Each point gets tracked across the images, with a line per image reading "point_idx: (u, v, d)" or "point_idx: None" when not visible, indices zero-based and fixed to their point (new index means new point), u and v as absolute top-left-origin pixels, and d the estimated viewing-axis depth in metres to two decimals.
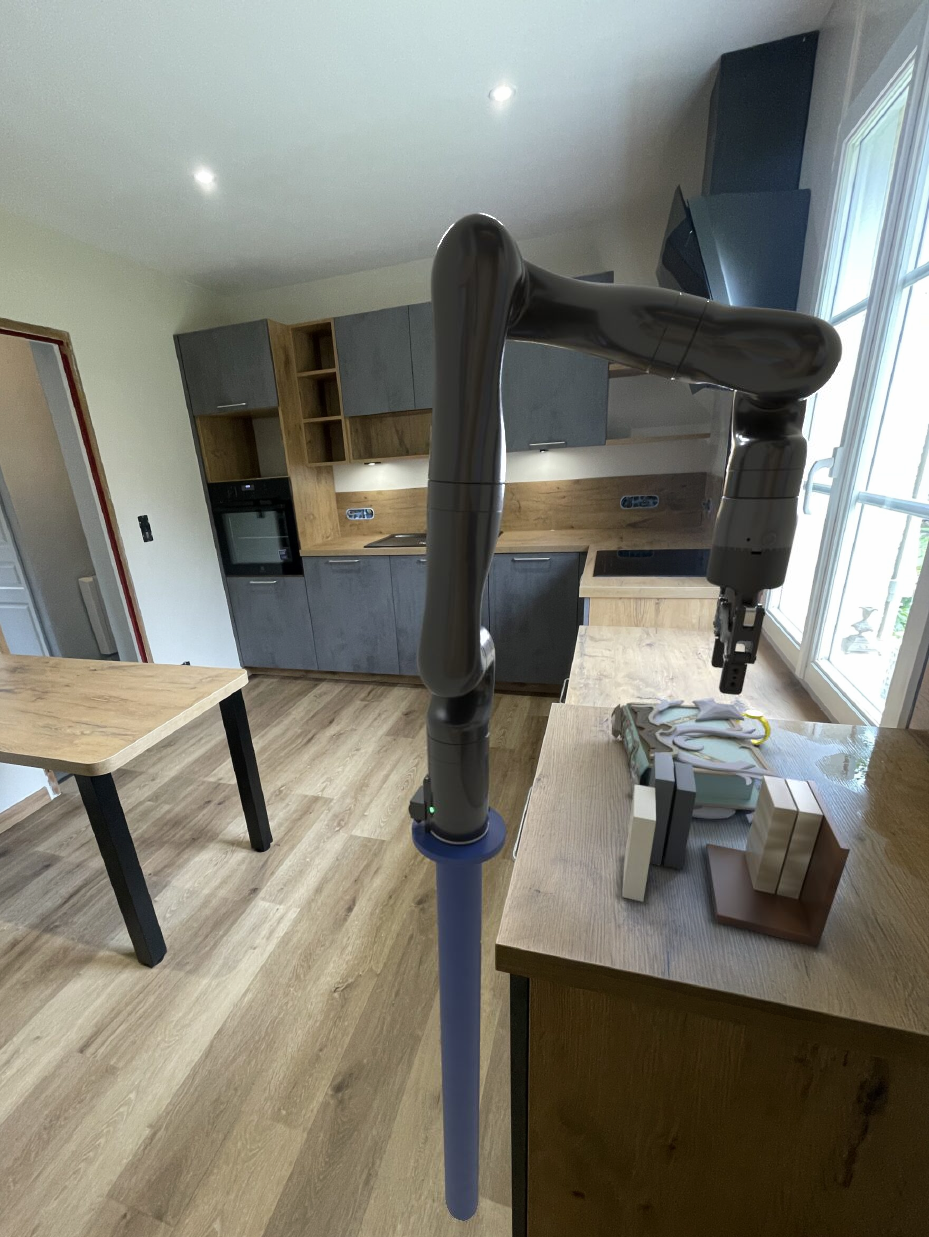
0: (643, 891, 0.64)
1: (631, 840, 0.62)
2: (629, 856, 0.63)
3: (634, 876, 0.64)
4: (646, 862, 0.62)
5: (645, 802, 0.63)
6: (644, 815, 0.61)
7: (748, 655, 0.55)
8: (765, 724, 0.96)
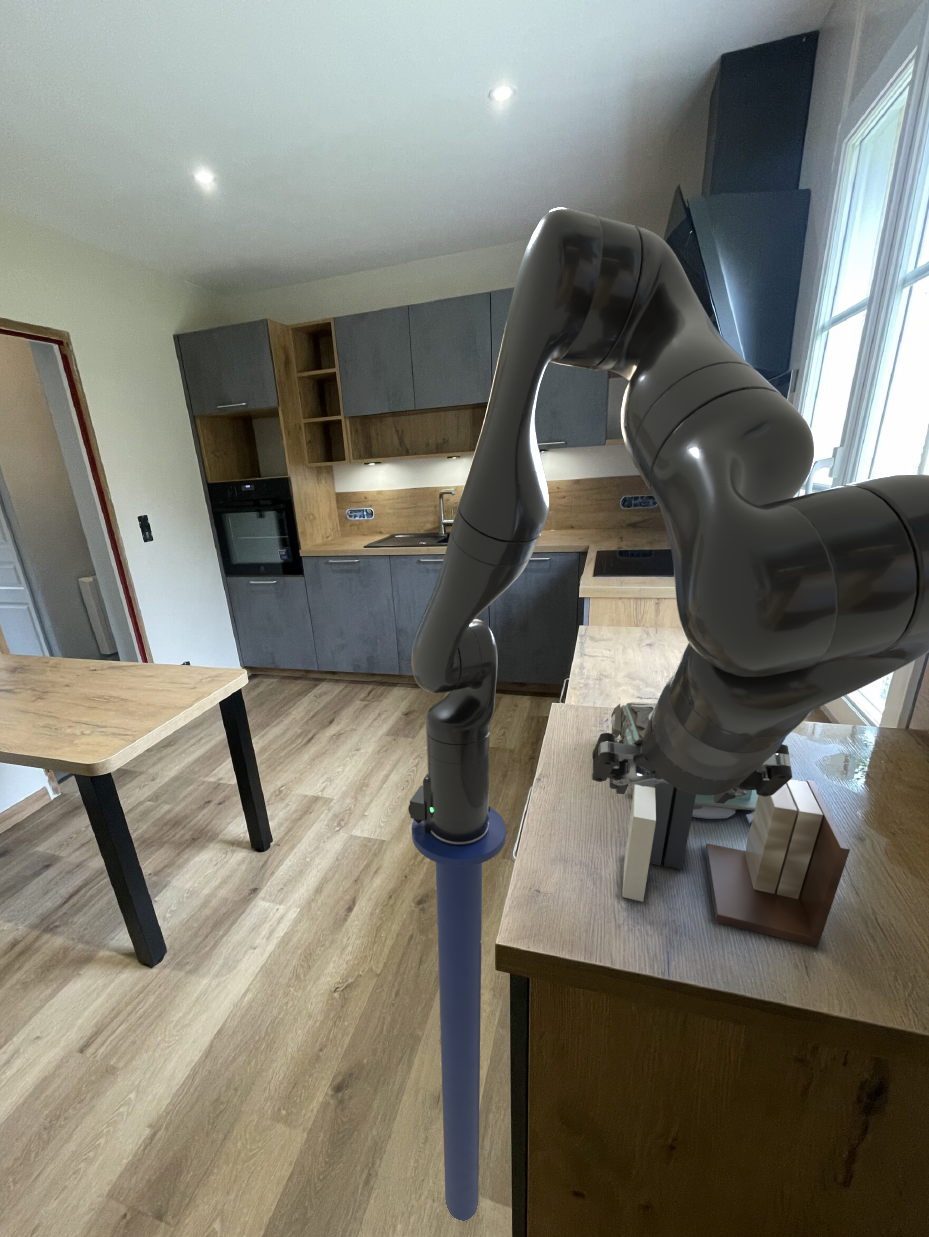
0: (643, 891, 0.64)
1: (631, 840, 0.62)
2: (629, 856, 0.63)
3: (634, 876, 0.64)
4: (646, 862, 0.62)
5: (645, 802, 0.63)
6: (644, 815, 0.61)
7: None
8: None
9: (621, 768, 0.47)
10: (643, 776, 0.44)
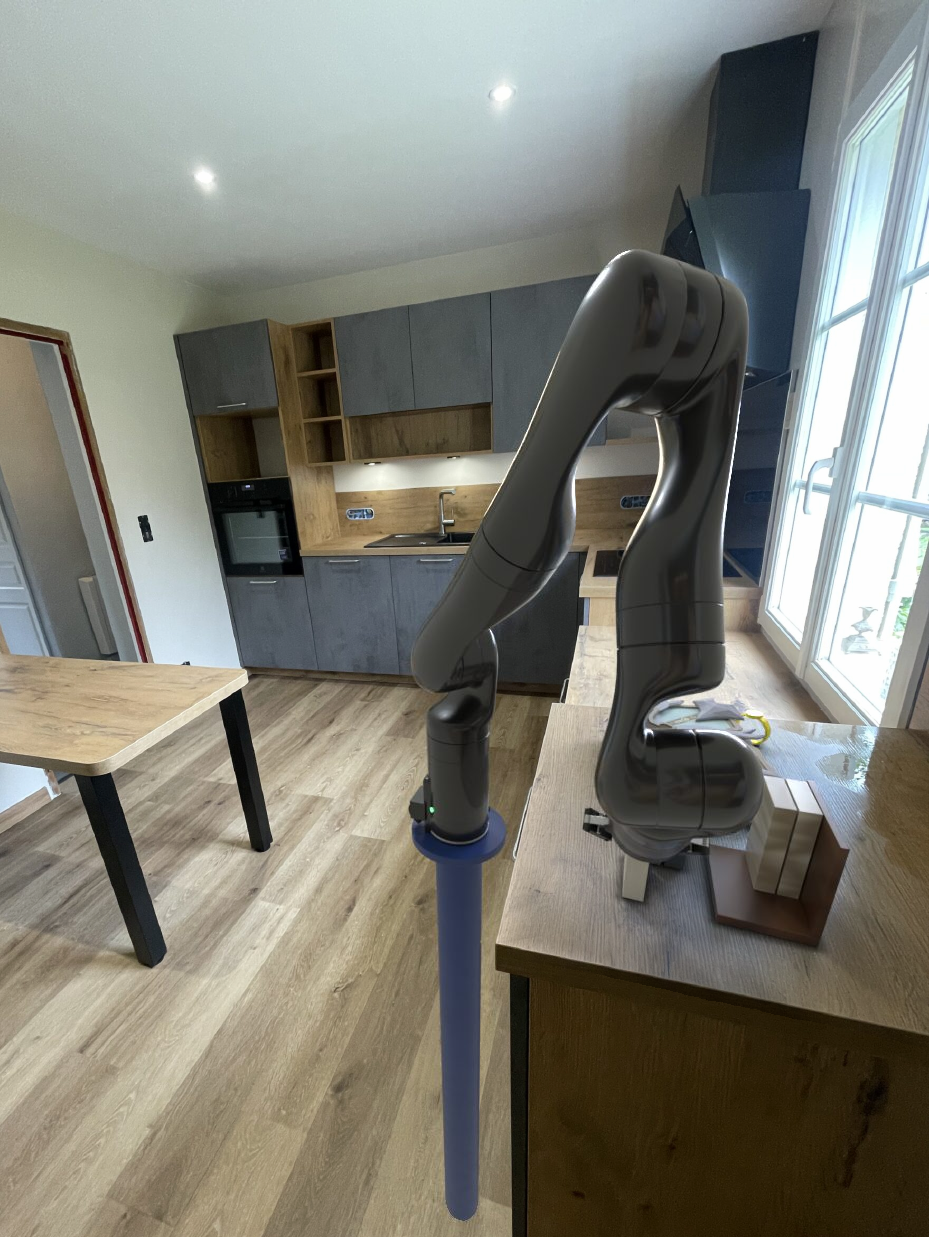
0: (643, 891, 0.64)
1: None
2: (629, 856, 0.63)
3: (634, 876, 0.64)
4: (646, 862, 0.62)
5: None
6: None
7: None
8: (765, 724, 0.96)
9: None
10: None
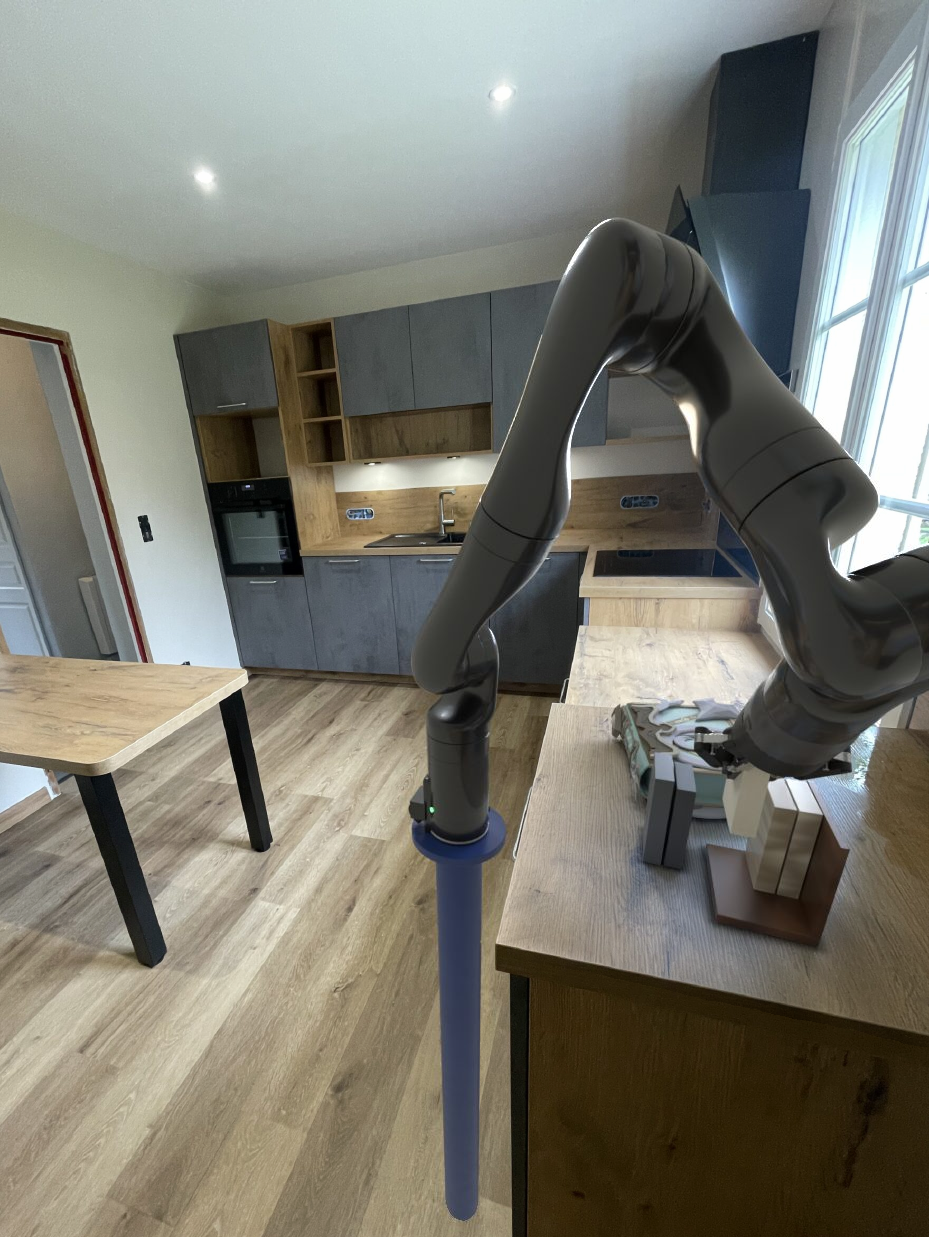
0: (756, 825, 0.56)
1: None
2: (742, 784, 0.55)
3: (746, 808, 0.56)
4: (763, 791, 0.55)
5: None
6: None
7: None
8: None
9: None
10: (739, 762, 0.53)
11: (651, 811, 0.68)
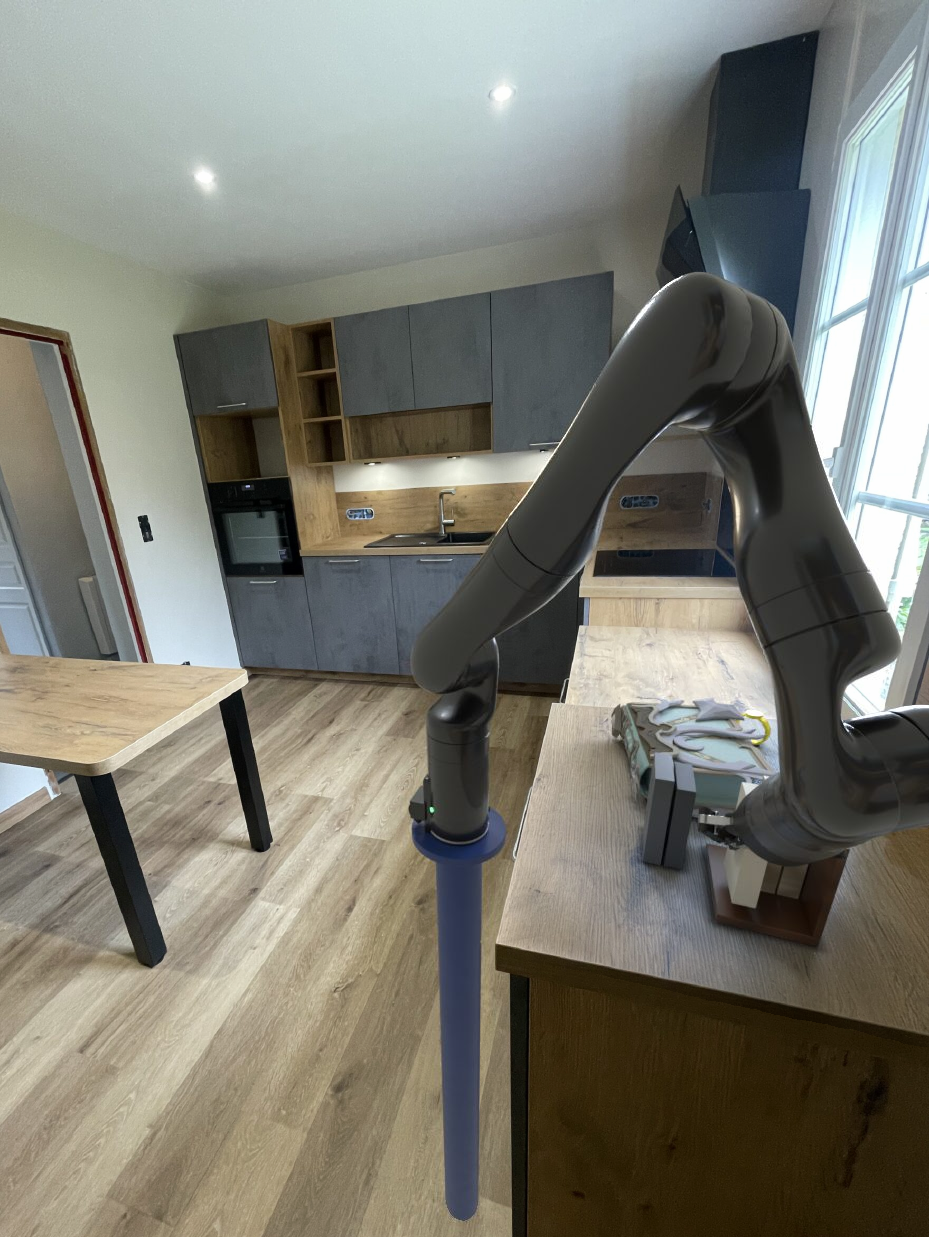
0: (757, 897, 0.59)
1: None
2: (743, 859, 0.58)
3: (747, 881, 0.59)
4: (763, 866, 0.58)
5: None
6: None
7: None
8: (765, 724, 0.96)
9: None
10: (741, 842, 0.56)
11: (651, 811, 0.68)
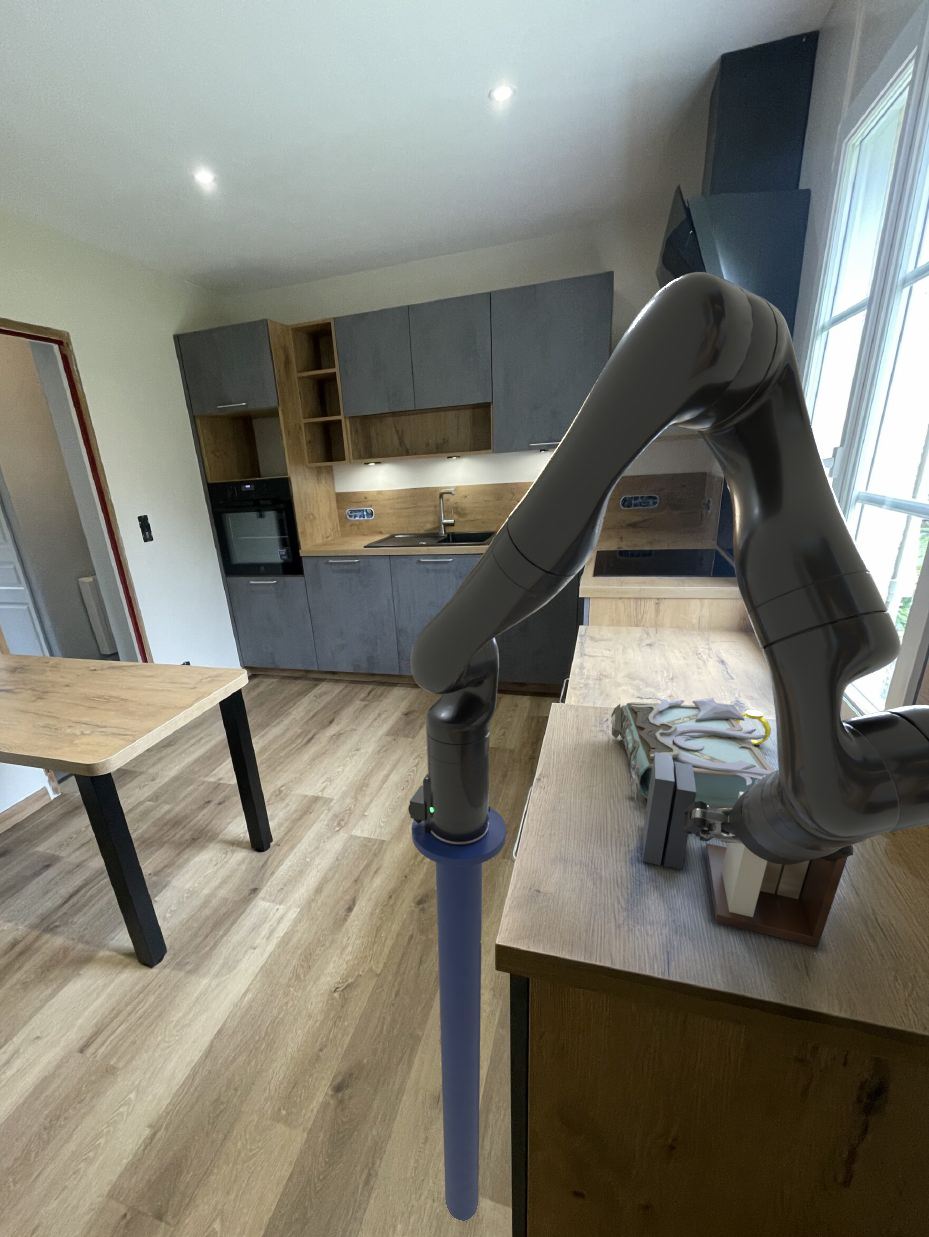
0: (754, 906, 0.60)
1: (744, 852, 0.58)
2: (741, 869, 0.59)
3: (744, 890, 0.60)
4: (760, 875, 0.58)
5: None
6: None
7: (686, 825, 0.59)
8: (765, 724, 0.96)
9: None
10: (727, 836, 0.56)
11: (651, 811, 0.68)
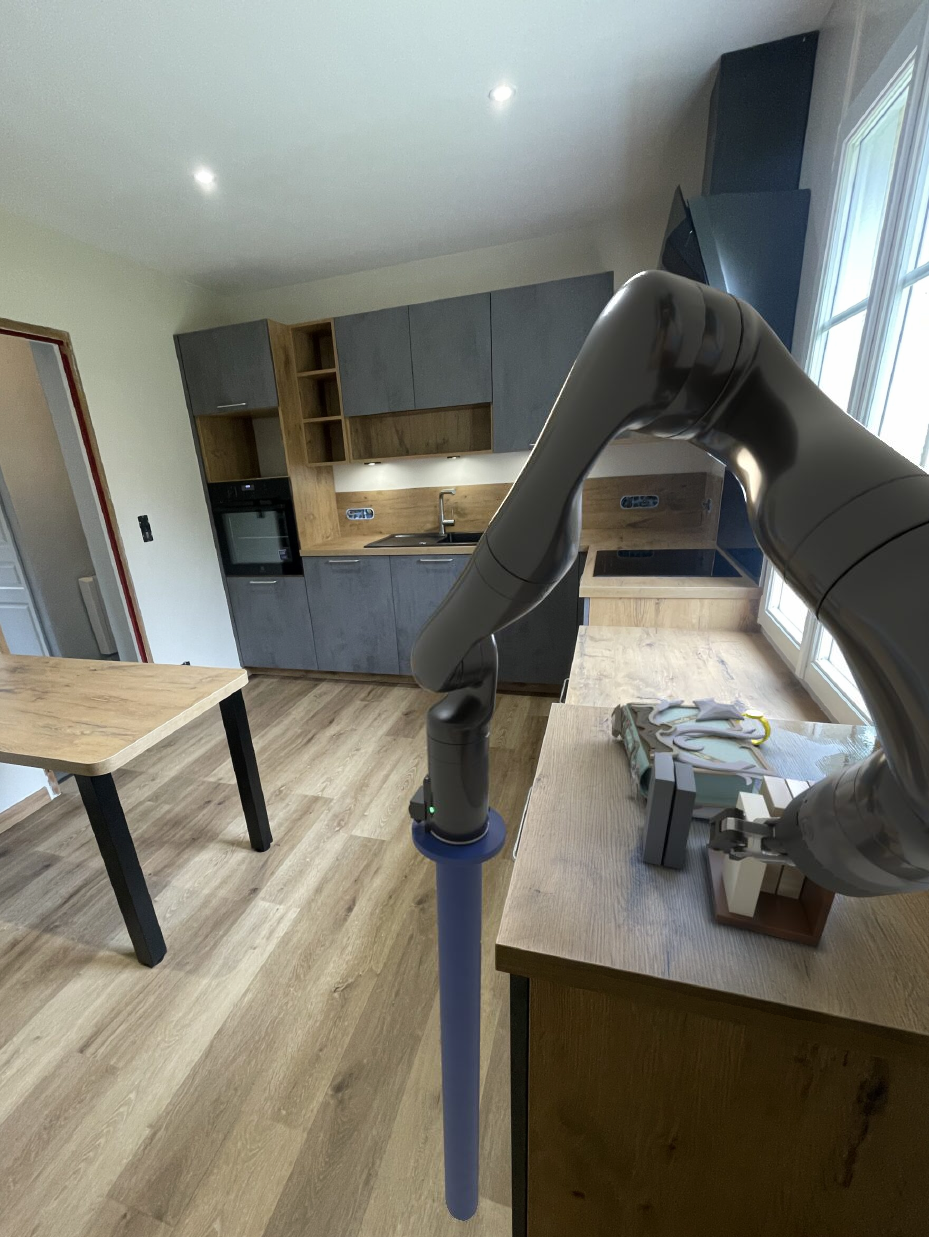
0: (754, 906, 0.60)
1: None
2: (741, 869, 0.59)
3: (744, 890, 0.60)
4: (760, 875, 0.58)
5: (757, 811, 0.59)
6: None
7: (713, 839, 0.45)
8: (765, 724, 0.96)
9: None
10: (770, 856, 0.41)
11: (651, 811, 0.68)
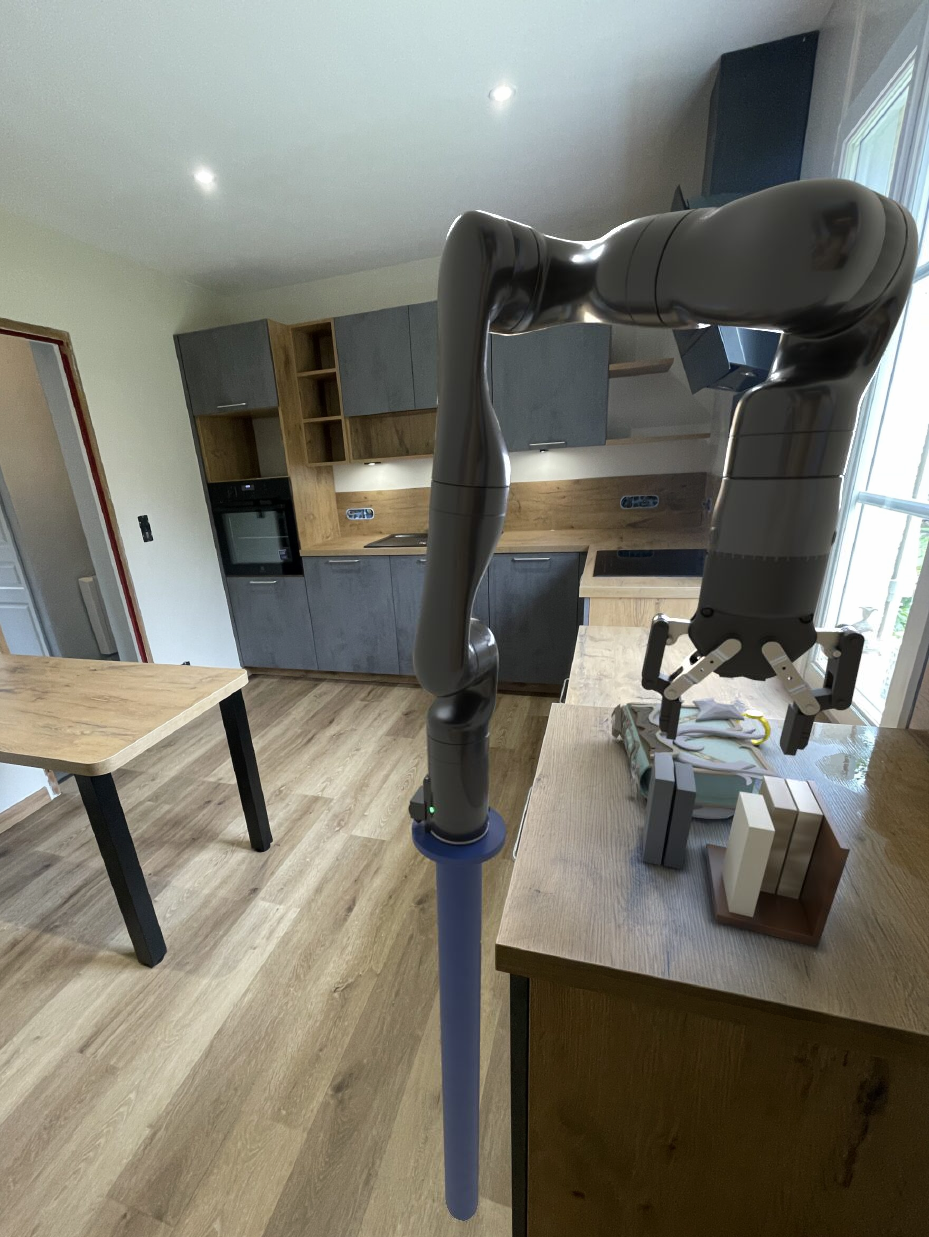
0: (754, 906, 0.60)
1: (744, 852, 0.58)
2: (741, 869, 0.59)
3: (744, 890, 0.60)
4: (760, 875, 0.58)
5: (757, 811, 0.59)
6: (761, 825, 0.57)
7: None
8: (765, 724, 0.96)
9: None
10: (699, 660, 0.41)
11: (651, 811, 0.68)
